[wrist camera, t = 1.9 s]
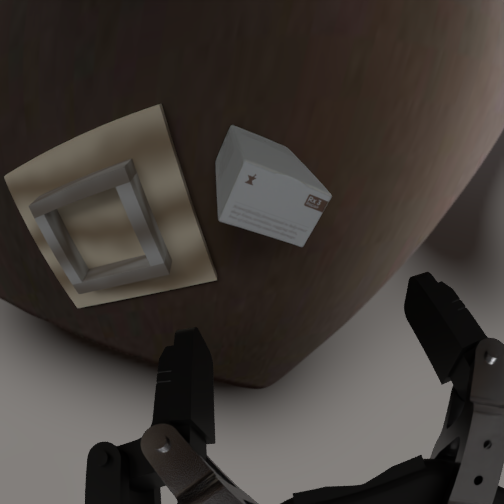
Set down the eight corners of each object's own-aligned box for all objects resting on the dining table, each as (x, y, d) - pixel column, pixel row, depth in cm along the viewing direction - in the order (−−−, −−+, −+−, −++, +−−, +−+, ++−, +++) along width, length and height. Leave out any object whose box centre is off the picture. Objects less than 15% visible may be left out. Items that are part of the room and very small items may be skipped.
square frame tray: (8, 173, 24) (-9, 185, 22) (161, 103, 24) (153, 108, 21) (79, 303, 36) (72, 321, 33) (217, 274, 35) (217, 294, 32)
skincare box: (214, 163, 28) (210, 226, 18) (231, 121, 25) (239, 157, 16) (272, 184, 29) (301, 254, 20) (292, 145, 27) (335, 196, 17)
